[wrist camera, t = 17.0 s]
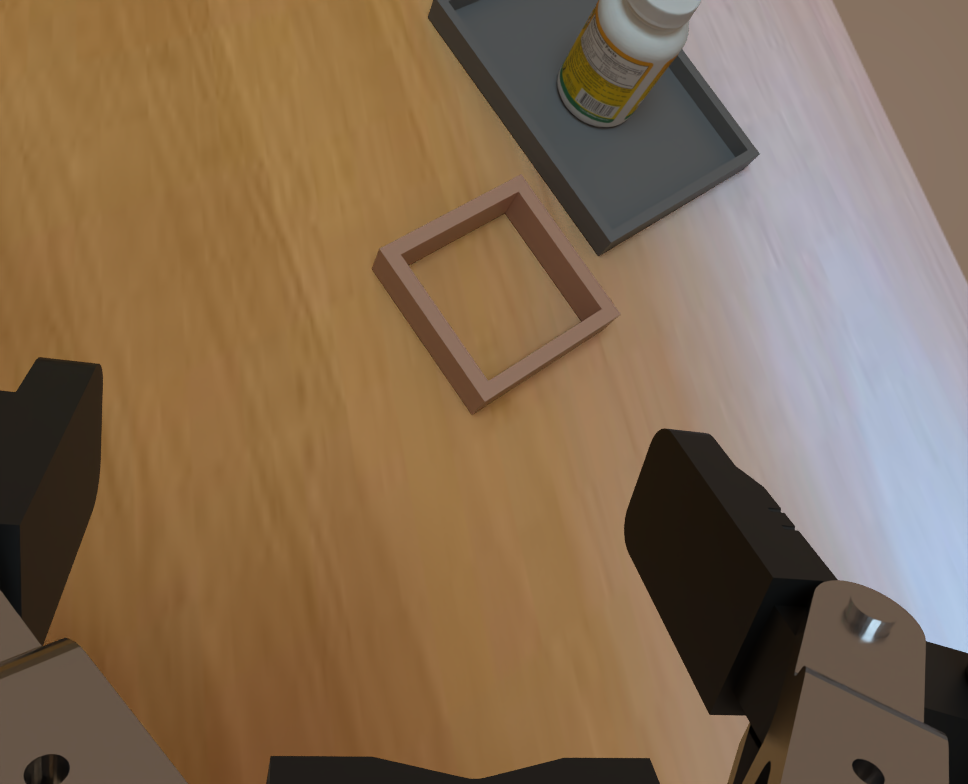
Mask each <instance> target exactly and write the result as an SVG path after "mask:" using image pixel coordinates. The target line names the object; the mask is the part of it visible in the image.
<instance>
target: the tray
mask: <svg viewBox="0 0 968 784" xmlns="http://www.w3.org/2000/svg"><path fill="white" fill-rule="evenodd" d="M597 2H598V0H433V3H432V6H431V9H430V12H429V15H428V18H429V20H430V21H431V22H432V24H433V25H434V27H435V28H436V29H437V31H438V32H439V34H440V35H441V36H442V38H443V39H444V41H445V42H446V43H447V45H448V46H449V48H450V49H451V50H452V52H453V53H454V55H455V56H456V57H457V59H458V60H459V62H460V63H461V64H462V66H463V67H464V69H465V70H466V71H467V73H468V74H469V76H470V77H471V78H472V80H473V81H474V83H475V84H476V85H477V87H478V88H479V90H480V91H481V92H482V94H483V95H484V97H485V98H486V99H487V101H488V102H489V104H490V105H491V106H492V108H493V109H494V111H495V112H496V113H497V115H498V116H499V118H500V119H501V120H502V122H503V123H504V125H505V126H506V127H507V129H508V130H509V132H510V133H511V134H512V136H513V137H514V139H515V140H516V141H517V143H518V144H519V146H520V147H521V148H522V150H523V151H524V153H525V154H526V155H527V157H528V158H529V160H530V161H531V162H532V164H533V165H534V167H535V168H536V169H537V171H538V172H539V174H540V175H541V176H542V178H543V179H544V181H545V182H546V183H547V185H548V186H549V188H550V189H551V190H552V192H553V193H554V195H555V196H556V197H557V199H558V200H559V202H560V203H561V204H562V206H563V207H564V209H565V210H566V211H567V213H568V214H569V216H570V217H571V218H572V220H573V221H574V223H575V224H576V225H577V227H578V228H579V230H580V231H581V232H582V234H583V235H584V237H585V238H586V239H587V241H588V242H589V244H590V245H591V246H592V248H593V249H594V251H595V252H596V253H597V255H598V256H600V255H602V254H603V253H605V252H607V251H608V250H610V249H611V248H613V247H615V246H616V245H618V244H620V243H621V242H623V241H625V240H626V239H628V238H630V237H631V236H633V235H635V234H636V233H638V232H640V231H641V230H643V229H645V228H646V227H648V226H650V225H651V224H653V223H655V222H656V221H658V220H660V219H661V218H663V217H665V216H666V215H668V214H670V213H671V212H673V211H675V210H676V209H678V208H680V207H681V206H683V205H685V204H686V203H688V202H690V201H691V200H693V199H695V198H696V197H698V196H700V195H701V194H703V193H705V192H706V191H708V190H710V189H711V188H713V187H715V186H716V185H718V184H720V183H721V182H723V181H725V180H726V179H728V178H730V177H731V176H733V175H735V174H736V173H738V172H740V171H741V170H743V169H744V168H746V167H747V166H748V165H749V164H750V163H751V162H752V161H753V160H754V159H755V158H756V157H757V156H758V155H759V152H758V151H757V149H756V148H755V147H754V145H753V144H752V143H751V141H750V140H749V139H748V137H747V136H746V135H745V133H744V132H743V131H742V129H741V128H740V127H739V125H738V124H737V123H736V121H735V120H734V119H733V117H732V116H731V114H730V113H729V112H728V110H727V109H726V108H725V106H724V105H723V104H722V102H721V101H720V100H719V98H718V97H717V96H716V94H715V93H714V92H713V90H712V89H711V88H710V86H709V85H708V84H707V82H706V81H705V79H704V78H703V77H702V75H701V74H700V73H699V71H698V70H697V69H696V67H695V66H694V65H693V63H692V62H691V61H690V59H689V58H688V57H687V55H686V54H685V53H684V51H683V50H682V49H681V51H680V52H679V54H678V55H677V57H676V58H675V59H674V60H673V62H672V63H671V64H670V66H669V67H668V68H667V69H666V71H665V72H664V73H663V75H662V76H661V77H660V79H659V80H658V81H657V82H656V84H655V85H654V86H653V88H652V89H651V90H650V92H649V93H648V94H647V96H646V97H645V98H644V100H643V101H642V102H641V103H640V105H639V106H638V107H637V109H636V110H635V111H634V113H633V114H632V115H631V116H630V117H629V118H628V119H627V120H626V121H625V122H623V123H621V124H619V125H617V126H613V127H597V126H593V125H590V124H587V123H585V122H583V121H582V120H580V119H578V118H577V117H576V116H574V115H573V114H572V113H571V112H570V111H569V110H568V108H567V107H566V106H565V104H564V102H563V100H562V99H561V96H560V94H559V90H558V86H557V80H558V74H559V71H560V69H561V67H562V65H563V63H564V61H565V59H566V57H567V55H568V53H569V52H570V50H571V48H572V46H573V45H574V43H575V41H576V39H577V38H578V36H579V34H580V32H581V30H582V29H583V27H584V25H585V23H586V22H587V20H588V18H589V16H590V15H591V13H592V11H593V9H594V7H595V6H596V4H597Z"/></svg>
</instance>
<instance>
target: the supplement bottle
mask: <svg viewBox="0 0 968 784" xmlns="http://www.w3.org/2000/svg"><path fill="white" fill-rule="evenodd" d="M700 2H701V0H598V2H597V4H596V6H595V7H594V9H593V11H592V13H591V15H590V16H589V18H588V20H587V22H586V23H585V25H584V27H583V29H582V30H581V32H580V34H579V36H578V38H577V39H576V41H575V43H574V45H573V46H572V48H571V50H570V52H569V53H568V55H567V57H566V59H565V61H564V63H563V65H562V67H561V69H560V71H559V74H558V80H557V86H558V90H559V94H560V96H561V99H562V100H563V102H564V104H565V106H566V107H567V108H568V110H569V111H570V112H571V113H572V114H573V115H574V116H576V117H577V118H578V119H580V120H582V121H583V122H585V123H587V124H590V125H593V126H597V127H613V126H617V125H619V124H621V123H623V122H625V121H626V120H627V119H628V118H629V117H630V116H631V115H632V114H633V113H634V111H635V110H636V109H637V107H638V106H639V105H640V103H641V102H642V101H643V100H644V98H645V97H646V96H647V94H648V93H649V92H650V90H651V89H652V88H653V86H654V85H655V84H656V82H657V81H658V80H659V79H660V77H661V76H662V75H663V73H664V72H665V71H666V69H667V68H668V67H669V66H670V64H671V63H672V62H673V60H674V59H675V58H676V57H677V55H678V54H679V52H680V51H681V49H682V48H683V46H684V45H685V42H686V40H687V36H688V31H689V20H690V18H691V17H692V15H693V13H694V12H695V10H696V9H697V8H698V6H699V4H700Z"/></svg>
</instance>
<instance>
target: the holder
mask: <svg viewBox="0 0 968 784" xmlns="http://www.w3.org/2000/svg"><path fill="white" fill-rule="evenodd" d="M504 213H505V214H506V215H507V216H508V218H509V219H510V221H511V222H512V224H513V225H514V226H515V228H516V229H517V231H518V232H519V233H520V235H521V236H522V238H523V239H524V241H525V242H526V243H527V245H528V246H529V248H530V249H531V250H532V252H533V253H534V255H535V256H536V257H537V259H538V260H539V262H540V263H541V265H542V266H543V267H544V269H545V270H546V272H547V273H548V274H549V276H550V277H551V279H552V280H553V282H554V283H555V284H556V286H557V287H558V289H559V290H560V291H561V293H562V294H563V296H564V297H565V298H566V300H567V301H568V303H569V304H570V306H571V307H572V308H573V310H574V311H575V313H576V314H577V315H578V317H579V318H580V320H581V321H582V322H581V323H579V324H577V325H576V326H574V327H573V328H571V329H570V330H568V331H566V332H565V333H563V334H562V335H560V336H559V337H557V338H555V339H554V340H552V341H551V342H549V343H547V344H546V345H544V346H543V347H541V348H540V349H538V350H536V351H535V352H533V353H532V354H530V355H529V356H527V357H525V358H524V359H522V360H521V361H519V362H518V363H516V364H514V365H513V366H511V367H510V368H508V369H506V370H505V371H503V372H502V373H500V374H499V375H497V376H495V377H494V378H492V379H491V380H489V381H488V380H487V379H486V377H485V376H484V374H483V373H482V371H481V370H480V368H479V367H478V366H477V364H476V363H475V361H474V360H473V358H472V357H471V355H470V354H469V353H468V351H467V350H466V348H465V347H464V345H463V344H462V342H461V341H460V340H459V338H458V337H457V335H456V334H455V332H454V331H453V329H452V328H451V327H450V325H449V324H448V322H447V321H446V319H445V318H444V316H443V315H442V313H441V312H440V311H439V309H438V308H437V306H436V305H435V303H434V302H433V300H432V299H431V298H430V296H429V295H428V293H427V292H426V290H425V289H424V287H423V286H422V285H421V283H420V282H419V280H418V279H417V277H416V276H415V274H414V273H413V272H412V270H411V269H410V267H409V266H408V265H410V264H412V263H414V262H416V261H417V260H419V259H421V258H423V257H425V256H427V255H429V254H430V253H432V252H434V251H436V250H438V249H440V248H441V247H443V246H445V245H447V244H449V243H451V242H453V241H454V240H456V239H458V238H460V237H462V236H464V235H465V234H467V233H469V232H471V231H473V230H475V229H476V228H478V227H480V226H482V225H484V224H486V223H488V222H489V221H491V220H493V219H495V218H497V217H499V216H500V215H502V214H504ZM372 270H373V271H374V273H375V274H376V276H377V277H378V279H379V280H380V281H381V283H382V284H383V286H384V287H385V289H386V290H387V292H388V293H389V295H390V296H391V297H392V299H393V300H394V302H395V303H396V305H397V306H398V308H399V309H400V311H401V312H402V313H403V315H404V316H405V318H406V319H407V321H408V322H409V324H410V325H411V327H412V328H413V330H414V331H415V332H416V334H417V335H418V337H419V338H420V340H421V341H422V343H423V344H424V346H425V347H426V348H427V350H428V351H429V353H430V354H431V356H432V357H433V359H434V360H435V362H436V363H437V364H438V366H439V367H440V369H441V370H442V372H443V373H444V375H445V376H446V378H447V379H448V381H449V382H450V383H451V385H452V386H453V388H454V389H455V391H456V392H457V394H458V395H459V397H460V398H461V399H462V401H463V402H464V404H465V405H466V407H467V408H468V410H469V411H470V413H471V414H474V413H475V412H477V411H478V410H480V409H481V408H483V407H485V406H486V405H488V404H489V403H491V402H492V401H494V400H495V399H497V398H498V397H500V396H502V395H503V394H505V393H506V392H508V391H509V390H511V389H512V388H514V387H515V386H517V385H519V384H520V383H522V382H523V381H525V380H526V379H528V378H529V377H531V376H532V375H534V374H536V373H537V372H539V371H540V370H542V369H543V368H545V367H546V366H548V365H549V364H551V363H553V362H554V361H556V360H557V359H559V358H560V357H562V356H563V355H565V354H566V353H568V352H569V351H571V350H573V349H574V348H576V347H577V346H579V345H580V344H582V343H583V342H585V341H586V340H588V339H590V338H591V337H593V336H594V335H596V334H597V333H599V332H600V331H602V330H603V329H604V328H606V327H607V326H608V325H609V324H610V323H611V322H612V321H614V320H615V319H616V318H617V317H618V316H619V315H620V312H619V311H618V309H617V308H616V307H615V305H614V304H613V302H612V301H611V300H610V298H609V297H608V295H607V294H606V293H605V291H604V290H603V288H602V287H601V286H600V284H599V283H598V281H597V280H596V279H595V277H594V276H593V274H592V273H591V271H590V270H589V269H588V267H587V266H586V264H585V263H584V262H583V260H582V259H581V257H580V256H579V255H578V253H577V252H576V250H575V249H574V248H573V246H572V245H571V243H570V242H569V241H568V239H567V238H566V236H565V235H564V234H563V232H562V231H561V229H560V228H559V227H558V225H557V224H556V222H555V221H554V220H553V218H552V217H551V215H550V214H549V213H548V211H547V210H546V208H545V207H544V206H543V204H542V203H541V201H540V200H539V198H538V197H537V196H536V194H535V193H534V191H533V190H532V189H531V187H530V186H529V184H528V183H527V182H526V180H525V179H524V177H523V176H522V175H519V176H517V177H515V178H513V179H511V180H509V181H507V182H506V183H504V184H502V185H500V186H498V187H496V188H494V189H492V190H490V191H488V192H487V193H485V194H483V195H481V196H479V197H477V198H475V199H473V200H471V201H469V202H467V203H466V204H464V205H462V206H460V207H458V208H456V209H454V210H452V211H450V212H448V213H447V214H445V215H443V216H441V217H439V218H437V219H435V220H433V221H431V222H429V223H427V224H426V225H424V226H422V227H420V228H418V229H416V230H414V231H412V232H410V233H408V234H407V235H405V236H403V237H401V238H399V239H397V240H395V241H393V242H391V243H389V244H388V245H386V246H384V247H382V248H380V249H379V251H378V254H377V257H376V259H375V262H374V265H373V267H372Z"/></svg>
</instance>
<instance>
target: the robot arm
mask: <svg viewBox="0 0 968 784" xmlns="http://www.w3.org/2000/svg"><path fill="white" fill-rule="evenodd" d="M102 393H103V374H102V367H101V365H100V364H95V363H86V362H77V361H69V360H60V359H51V358H42V357H39V358H38V359H37V360H36V361H35V363H34V364H33V366H32V367H31V369H30V371H29V372H28V374H27V375H26V377H25V379H24V380H23V382H22V383H21V385H20V387H19V388H18V390H17V391H16V392H7V391H0V784H188V783H187V782H186V781H185V779H184V778H183V777H182V775H181V774H180V773H179V772H178V770H177V769H176V768H175V766H174V765H173V764H172V763H171V761H170V760H169V759H168V758H167V756H166V755H165V754H164V752H163V751H162V750H161V749H160V747H159V746H158V745H157V743H156V742H155V741H154V740H153V738H152V737H151V736H150V734H149V733H148V732H147V731H146V729H145V728H144V727H143V725H142V724H141V723H140V722H139V720H138V719H137V718H136V717H135V715H134V714H133V713H132V711H131V710H130V709H129V708H128V706H127V705H126V704H125V702H124V701H123V700H122V699H121V697H120V696H119V695H118V693H117V692H116V691H115V690H114V688H113V687H112V686H111V684H110V683H109V682H108V681H107V679H106V678H105V677H104V676H103V674H102V673H101V672H100V670H99V669H98V668H97V667H96V665H95V664H94V663H93V661H92V660H91V659H90V658H89V656H88V655H87V654H86V652H85V651H84V650H83V649H82V648H81V647H80V646H79V645H78V644H77V643H76V642H74V641H73V640H71V639H67V638H64V639H60V640H58V641H55V642H53V643H50V644H48V645H45V646H43V644H44V641H45V638H46V636H47V633H48V630H49V628H50V625H51V622H52V619H53V617H54V614H55V611H56V609H57V606H58V603H59V600H60V598H61V595H62V592H63V590H64V587H65V584H66V582H67V579H68V576H69V573H70V571H71V568H72V565H73V563H74V560H75V557H76V554H77V552H78V549H79V546H80V544H81V541H82V538H83V536H84V533H85V530H86V527H87V525H88V522H89V519H90V517H91V514H92V511H93V508H94V504H95V500H96V495H97V490H98V484H99V476H100V462H101V428H102ZM624 536H625V543H626V547H627V550H628V553H629V555H630V557H631V559H632V561H633V563H634V565H635V567H636V569H637V571H638V573H639V575H640V577H641V579H642V581H643V583H644V585H645V587H646V589H647V591H648V593H649V595H650V597H651V599H652V601H653V603H654V605H655V607H656V609H657V611H658V613H659V615H660V617H661V619H662V621H663V623H664V625H665V627H666V629H667V631H668V633H669V635H670V637H671V639H672V641H673V643H674V645H675V647H676V649H677V651H678V653H679V655H680V657H681V659H682V661H683V663H684V665H685V667H686V669H687V671H688V673H689V675H690V677H691V679H692V681H693V683H694V685H695V687H696V689H697V691H698V693H699V695H700V697H701V699H702V701H703V703H704V705H705V707H706V709H707V711H708V713H709V715H746V716H747V718H748V720H749V722H750V723H749V725H748V727H747V729H746V731H745V733H744V735H743V737H742V739H741V741H740V743H739V747H738V750H737V753H736V757H735V760H734V763H733V767H732V770H731V773H730V777H729V780H728V783H727V784H968V653H965V652H962V651H958V650H955V649H951V648H948V647H944V646H941V645H937V644H934V643H930V642H927V641H926V640H925V635H924V633H923V630H922V629H921V627H920V625H919V624H918V623H917V621H916V620H915V619H914V618H913V617H912V616H911V615H910V614H909V613H908V612H907V611H906V610H905V609H904V608H902V607H901V606H900V605H899V604H897V603H896V602H894V601H893V600H891V599H890V598H888V597H886V596H885V595H883V594H881V593H879V592H877V591H875V590H873V589H871V588H868V587H866V586H863V585H860V584H856V583H853V582H848V581H840V580H837V578H836V577H835V576H834V575H833V573H832V572H831V571H830V570H829V568H828V567H827V566H826V565H825V563H824V562H823V561H822V560H821V558H820V557H819V556H818V555H817V553H816V552H815V551H814V550H813V548H812V547H811V546H810V544H809V543H808V542H807V541H806V539H805V538H804V537H803V536H802V534H801V533H800V532H799V531H796V530H795V526H794V524H793V523H792V522H791V521H790V519H789V518H788V517H787V516H786V514H785V513H781V508H780V507H779V506H778V504H777V503H776V502H775V501H774V499H773V498H772V497H771V495H770V494H769V493H768V492H767V490H766V489H765V488H764V487H763V486H762V485H760V484H759V483H758V482H756V481H755V480H754V479H752V478H751V477H750V476H748V475H747V474H746V473H744V472H743V471H742V470H740V469H739V468H738V467H736V466H735V465H734V463H733V462H732V461H731V460H730V458H729V457H728V456H727V454H726V453H725V452H724V451H723V449H722V448H721V447H720V445H719V444H718V443H717V441H716V440H715V439H714V438H713V437H712V436H711V435H710V434H707V433H700V432H691V431H682V430H673V429H661V430H659V431H658V432H657V433H656V434H655V436H654V437H653V439H652V441H651V444H650V447H649V449H648V452H647V455H646V458H645V461H644V464H643V466H642V469H641V472H640V475H639V478H638V480H637V483H636V486H635V489H634V492H633V495H632V497H631V500H630V503H629V506H628V509H627V512H626V517H625V524H624ZM266 784H660V783H659V780H658V778H657V775H656V773H655V770H654V768H653V765H652V763H651V761H650V758H562V759H558V760H554V761H550V762H546V763H542V764H538V765H534V766H530V767H526V768H522V769H518V770H514V771H510V772H506V773H502V774H498V775H494V776H490V777H486V778H481V779H469V778H463V777H459V776H454V775H450V774H446V773H441V772H437V771H432V770H428V769H424V768H419V767H415V766H410V765H406V764H402V763H397V762H393V761H388V760H384V759H380V758H375V757H327V756H271V757H270V764H269V770H268V776H267V782H266Z"/></svg>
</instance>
